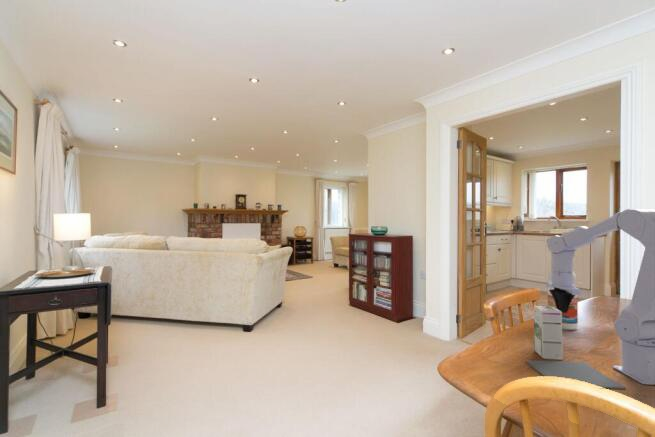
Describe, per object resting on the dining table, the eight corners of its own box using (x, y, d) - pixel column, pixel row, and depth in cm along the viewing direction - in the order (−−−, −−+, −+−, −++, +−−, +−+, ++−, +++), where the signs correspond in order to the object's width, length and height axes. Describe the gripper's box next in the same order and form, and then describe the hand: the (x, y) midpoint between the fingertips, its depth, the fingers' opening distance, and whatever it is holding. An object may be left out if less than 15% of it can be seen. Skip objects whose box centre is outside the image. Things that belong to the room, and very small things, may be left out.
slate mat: (625, 389, 77) (625, 387, 77) (556, 386, 79) (556, 384, 79) (584, 363, 91) (584, 362, 91) (525, 361, 93) (525, 360, 93)
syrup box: (563, 360, 94) (563, 311, 94) (541, 358, 95) (541, 309, 95) (554, 352, 99) (553, 306, 99) (533, 351, 100) (532, 304, 100)
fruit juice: (561, 321, 129) (560, 253, 130) (584, 329, 120) (583, 255, 121) (541, 323, 128) (541, 253, 128) (563, 331, 118) (562, 256, 119)
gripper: (537, 268, 115) (537, 305, 115) (563, 274, 100) (563, 318, 100) (557, 268, 114) (558, 306, 114) (587, 275, 100) (587, 318, 100)
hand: (562, 311), depth 107 cm, fingers closed
